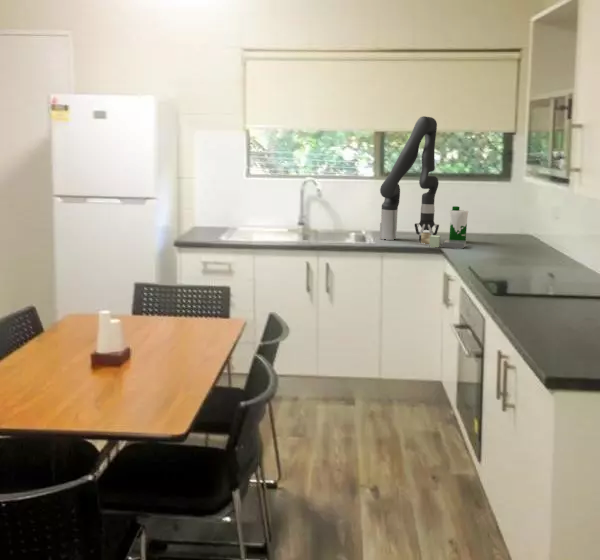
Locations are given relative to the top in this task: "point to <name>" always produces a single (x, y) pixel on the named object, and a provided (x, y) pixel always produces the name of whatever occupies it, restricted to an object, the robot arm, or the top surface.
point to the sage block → (434, 241)
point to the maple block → (425, 238)
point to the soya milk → (458, 224)
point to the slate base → (454, 243)
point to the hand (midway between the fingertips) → (426, 242)
